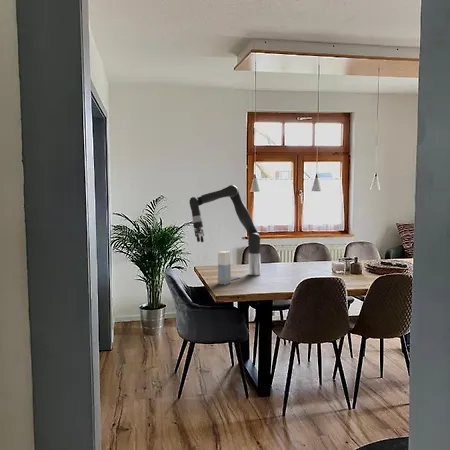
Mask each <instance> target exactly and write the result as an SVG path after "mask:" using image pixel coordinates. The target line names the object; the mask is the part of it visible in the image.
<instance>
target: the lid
mask: <svg viewBox="0 0 450 450" xmlns="http://www.w3.org/2000/svg"><path fill="white" fill-rule="evenodd" d="M229 264H230V265H231V251H227V250H226V251H225V250H223V251H218V252H217V266H218V265H229Z"/></svg>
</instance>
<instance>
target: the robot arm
mask: <svg viewBox="0 0 450 450" xmlns="http://www.w3.org/2000/svg"><path fill="white" fill-rule="evenodd" d="M228 197H229V198H230V200H231V201H232V204H233V206H234V210H235V211H234V212H235V214H236V216H237V217H238V219H239V222H240V224H242V226H243V227H244V229H245V231H246V232H247V233H246V234H247V235H248V238H247V239H248V241H247V242H248V245H247V247H248V275H250V276H260V275H261V273H262V270H261V269H262V266H261V264H262V263H261V239H262V238H261V235H260V234H259V232H258V230H257V228H256V227H255V225H254V221H253V219H252V217H251V215H250V212H249V210H248V209H247V206H246V204H245V203H244V201H243V199H242V198H241V195H240V192H239V189H238V187H237V186H236V185H233V184H231V185H230V184H229V185H228V186H227V187H223V188H222V189H219V190H216V191H212V192H208V193H204V194H202V195H200V196H199V197H198V196H197V197H195V196H192V197H190V199H189V207H190V210H191V217H192V225H193V229H194V230H193V231H194V235H195V236H194V237H195V238H196V241H197V243H200V242H201V243H204V242H205V241H204V237H205V234H204V233H205V232H204V228H203V227H204V225H203V224H204V223H203V218H202V213H201V209H200V207H199V206H202V205H205V204H206V203H207V204H209V203H211V202H213V201H216V200H219V199H222V198H223V199H224V198H228Z"/></svg>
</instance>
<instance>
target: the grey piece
mask: <svg viewBox="0 0 450 450" xmlns="http://www.w3.org/2000/svg"><path fill="white" fill-rule="evenodd" d="M231 271H232V270H231V263H230V264H229V265H218V264H217V284H218V285H223V284H224V285H223V286H225V285H229V283H230V284H231V283H232V282H231V276H232V275H231Z"/></svg>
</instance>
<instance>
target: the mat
mask: <svg viewBox="0 0 450 450" xmlns="http://www.w3.org/2000/svg"><path fill="white" fill-rule="evenodd" d="M239 279H241V278H240V277H238V276H232V275H231V281H234V280H235V281H236V280H239Z"/></svg>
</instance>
